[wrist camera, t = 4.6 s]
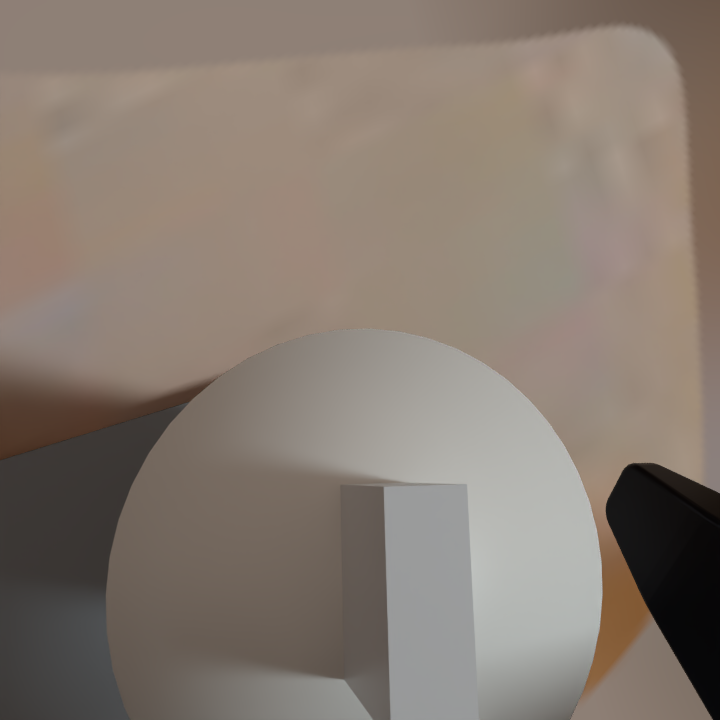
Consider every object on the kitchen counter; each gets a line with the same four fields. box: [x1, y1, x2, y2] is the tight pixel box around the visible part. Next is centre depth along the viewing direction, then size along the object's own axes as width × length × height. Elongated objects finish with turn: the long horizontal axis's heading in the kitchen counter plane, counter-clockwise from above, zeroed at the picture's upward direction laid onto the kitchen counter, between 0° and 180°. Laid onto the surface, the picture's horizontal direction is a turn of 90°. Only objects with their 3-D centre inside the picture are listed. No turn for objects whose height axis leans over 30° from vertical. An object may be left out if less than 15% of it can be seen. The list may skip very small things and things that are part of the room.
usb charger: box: [106, 329, 602, 720], centre depth 10 cm, size 4×4×11 cm
